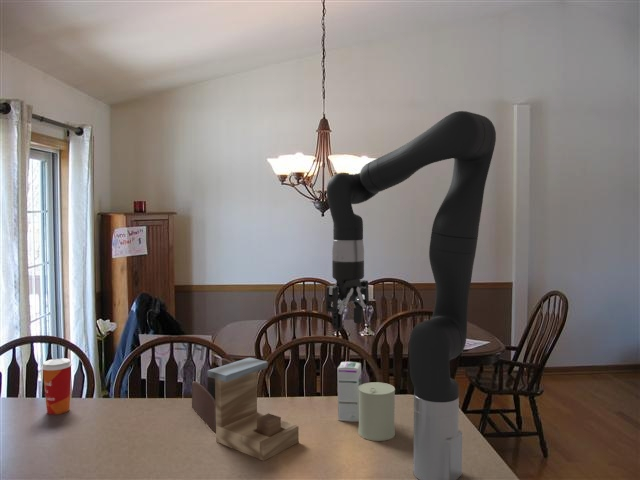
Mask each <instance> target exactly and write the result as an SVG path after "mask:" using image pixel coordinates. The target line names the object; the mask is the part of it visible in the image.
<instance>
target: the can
mask: <svg viewBox="0 0 640 480" xmlns="http://www.w3.org/2000/svg"><path fill="white" fill-rule="evenodd" d="M358 389H359V422H358V431H357V432H358V435H359V436H360V437H361V438H363V439H364V440H368V441H374V442H383V441H388V440H391V439H393V438H394V437H395V435H396V430H395V429H396V428H395V415H396V414H395V408H396V407H395V405H396V403H395V402H396V401H395V398H396V397H395V396H396V394H395V393H396V388H395V386H393V385H392V384H390V383H385V382H379V381H376V382H374V381H373V382H372V381H371V382H365V383H361V385H360V386H359V388H358Z"/></svg>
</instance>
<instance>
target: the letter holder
mask: <svg viewBox="0 0 640 480" xmlns="http://www.w3.org/2000/svg"><path fill="white" fill-rule="evenodd" d="M233 362H234V361H231V360H229V359H228V358H221V365H220V366H223V365H227V364H230V363H233ZM206 379H207V380H206V383H207V387H205V386H203V385H202V384H200V383H199V382H197V381H192V384H191V408H192V409H193V410H194V411H195V412H196V414H197V415H199V417H200V418H201V419H202V420H203V421H204V422H205V423H206V424H207V425H208V427H210V428H211V430H212V431H213V432H214V433H216V405H215V379H214V378H211V377H208V370H207V371H206ZM206 388H207V389H206Z"/></svg>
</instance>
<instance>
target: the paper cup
mask: <svg viewBox="0 0 640 480" xmlns="http://www.w3.org/2000/svg"><path fill="white" fill-rule="evenodd" d="M72 365H73V363H72V361H71V359H70V358H66V357H65V358H64V357H61V358H52V359H48V360H45V361H44V362H43V363H42V366H41V370H42V375H43V387H44V397H45V404H46V411H47V414H49V415H61V414H64V413H67V412H68V411H69V410H70V404H71V403H70V401H71V379H72V378H71V373H72V372H71V371H72V370H71V369H72Z"/></svg>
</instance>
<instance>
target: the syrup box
mask: <svg viewBox="0 0 640 480" xmlns="http://www.w3.org/2000/svg"><path fill="white" fill-rule="evenodd" d="M336 374H337V419H338V421H342V422H351V423H352V422H353V423H359V389H358V388H359V386H360V385H362V363H361V362H357V361H341V362H340V364H339V365H338V366H337V373H336Z"/></svg>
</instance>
